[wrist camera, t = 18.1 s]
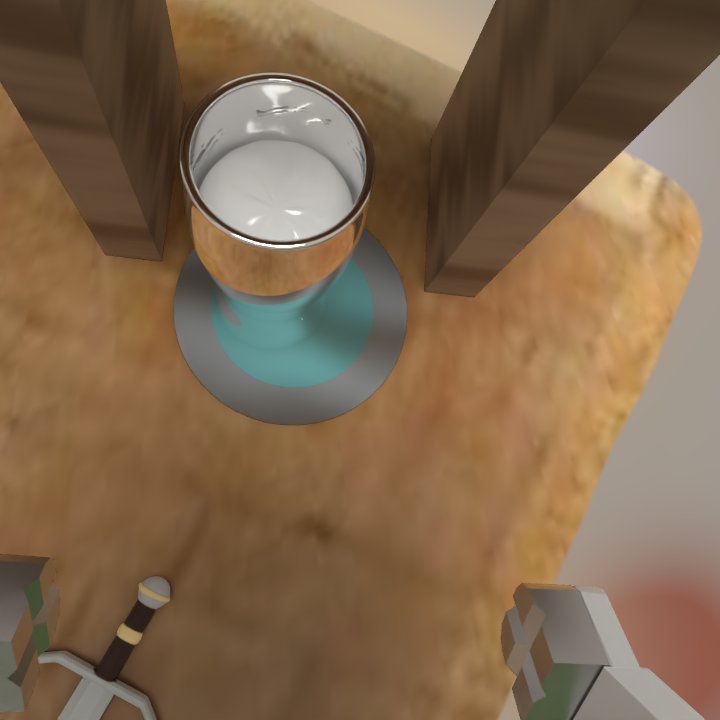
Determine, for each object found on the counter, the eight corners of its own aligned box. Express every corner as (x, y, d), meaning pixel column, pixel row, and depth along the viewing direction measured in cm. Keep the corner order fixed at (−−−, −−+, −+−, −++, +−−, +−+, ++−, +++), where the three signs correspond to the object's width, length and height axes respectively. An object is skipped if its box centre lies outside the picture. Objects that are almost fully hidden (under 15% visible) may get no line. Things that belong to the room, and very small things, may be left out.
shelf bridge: (469, 440, 37) (986, 274, 11) (79, 407, 34) (-516, 73, 8) (478, 145, 41) (861, -490, 15) (132, 95, 38) (-141, -793, 12)
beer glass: (195, 344, 35) (150, 230, 21) (222, 227, 37) (197, 45, 22) (322, 368, 36) (365, 274, 21) (343, 252, 38) (395, 91, 23)
